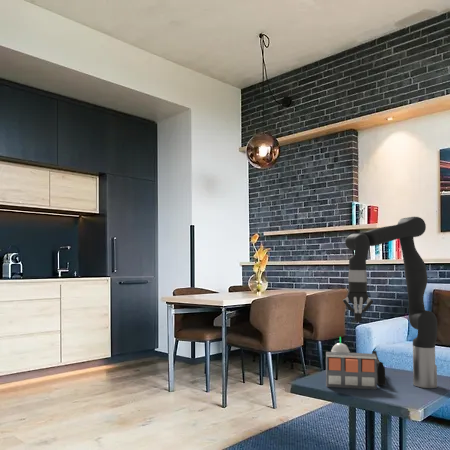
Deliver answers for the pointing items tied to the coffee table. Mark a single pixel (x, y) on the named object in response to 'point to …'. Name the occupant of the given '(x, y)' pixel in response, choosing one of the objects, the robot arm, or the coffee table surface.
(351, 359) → the switch
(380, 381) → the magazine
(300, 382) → the coffee table surface
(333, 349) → the smoothie
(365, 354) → the dark grey block
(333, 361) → the switch
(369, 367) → the switch
